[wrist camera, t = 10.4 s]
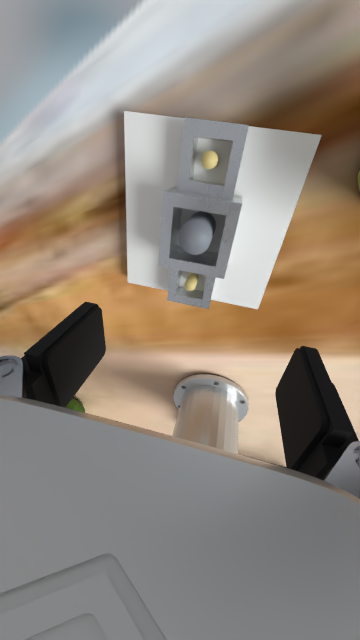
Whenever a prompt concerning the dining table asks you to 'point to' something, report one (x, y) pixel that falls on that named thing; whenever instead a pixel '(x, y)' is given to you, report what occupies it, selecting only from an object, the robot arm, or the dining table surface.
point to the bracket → (200, 199)
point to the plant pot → (359, 179)
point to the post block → (203, 227)
